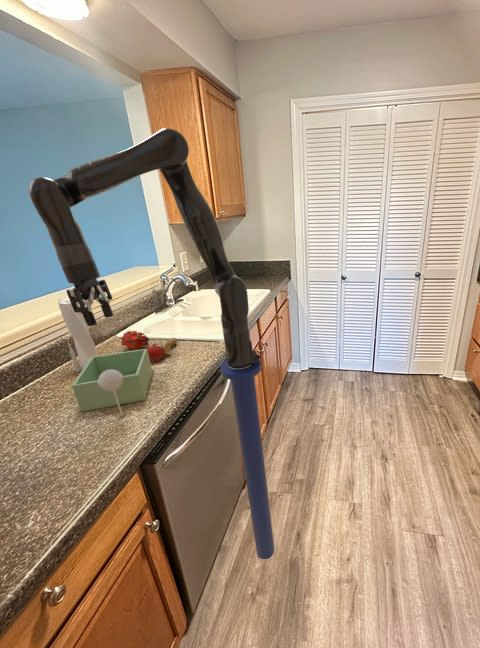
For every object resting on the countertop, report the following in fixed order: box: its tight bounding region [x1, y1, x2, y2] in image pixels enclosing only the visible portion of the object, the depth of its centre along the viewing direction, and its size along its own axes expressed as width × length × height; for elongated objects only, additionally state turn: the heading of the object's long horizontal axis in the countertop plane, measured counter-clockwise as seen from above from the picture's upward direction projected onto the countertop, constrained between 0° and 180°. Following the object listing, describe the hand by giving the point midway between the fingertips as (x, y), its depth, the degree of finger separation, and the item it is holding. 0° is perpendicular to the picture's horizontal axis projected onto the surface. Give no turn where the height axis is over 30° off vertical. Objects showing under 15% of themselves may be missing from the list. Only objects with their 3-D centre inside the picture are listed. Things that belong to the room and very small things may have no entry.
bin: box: [71, 348, 154, 412], centre depth 105 cm, size 18×20×9 cm
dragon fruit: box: [120, 330, 151, 351], centre depth 135 cm, size 8×8×12 cm
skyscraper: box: [57, 293, 100, 374], centre depth 118 cm, size 8×8×28 cm
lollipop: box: [98, 369, 124, 418], centre depth 90 cm, size 6×6×15 cm
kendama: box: [146, 337, 178, 362], centre depth 130 cm, size 8×6×18 cm
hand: (101, 320), depth 90 cm, fingers open, 8 cm apart
